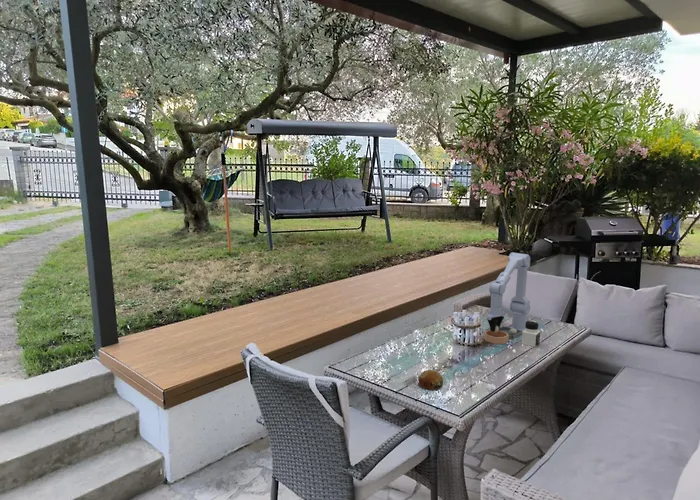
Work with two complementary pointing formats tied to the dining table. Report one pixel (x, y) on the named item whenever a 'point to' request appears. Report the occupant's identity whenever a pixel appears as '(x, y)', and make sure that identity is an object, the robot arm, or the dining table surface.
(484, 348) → the dining table surface
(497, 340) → the bowl
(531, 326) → the medicine bottle
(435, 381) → the bread roll
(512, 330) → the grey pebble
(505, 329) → the parts tray
